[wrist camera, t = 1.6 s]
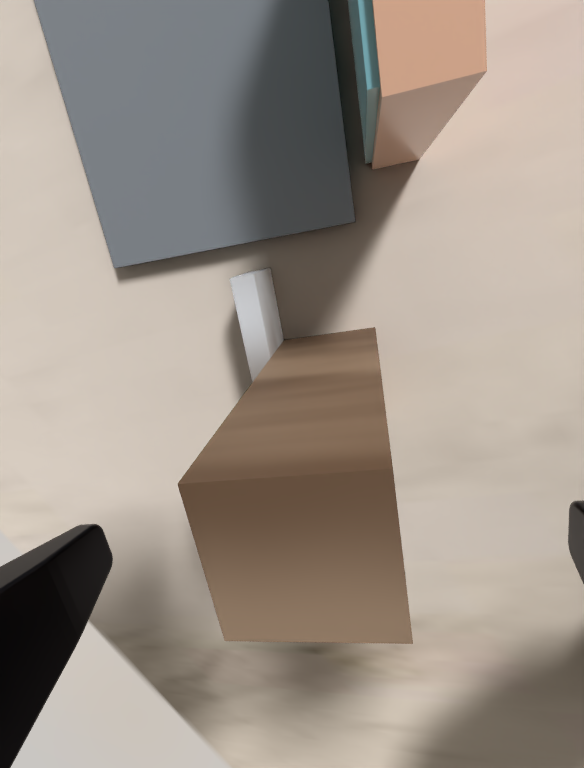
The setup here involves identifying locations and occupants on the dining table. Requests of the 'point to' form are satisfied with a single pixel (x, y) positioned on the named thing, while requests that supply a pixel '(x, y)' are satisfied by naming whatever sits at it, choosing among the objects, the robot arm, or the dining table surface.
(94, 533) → the robot arm
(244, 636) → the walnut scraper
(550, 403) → the dining table surface
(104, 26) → the slate mat
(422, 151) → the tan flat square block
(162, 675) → the dining table surface
